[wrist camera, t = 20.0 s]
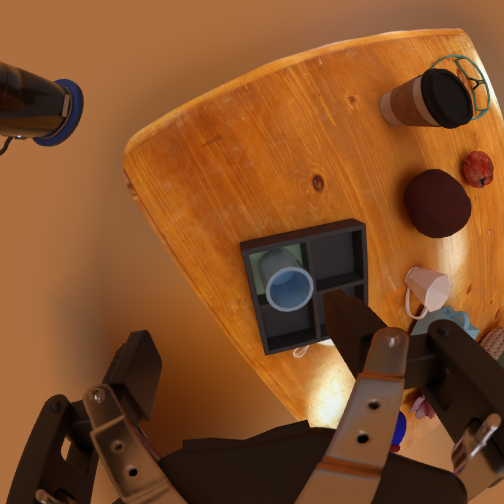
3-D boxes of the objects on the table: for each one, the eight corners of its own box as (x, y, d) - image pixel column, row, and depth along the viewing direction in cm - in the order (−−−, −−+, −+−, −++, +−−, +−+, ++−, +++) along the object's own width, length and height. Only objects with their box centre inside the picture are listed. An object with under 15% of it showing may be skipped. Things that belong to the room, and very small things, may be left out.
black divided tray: (261, 341, 45) (265, 355, 41) (239, 242, 39) (241, 250, 36) (358, 315, 46) (367, 326, 42) (353, 218, 40) (365, 223, 36)
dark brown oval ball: (397, 157, 38) (439, 158, 28) (446, 181, 40) (485, 189, 30) (383, 220, 41) (421, 236, 31) (433, 237, 43) (470, 253, 33)
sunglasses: (483, 112, 36) (497, 111, 31) (447, 127, 38) (462, 127, 33) (459, 55, 31) (472, 50, 27) (418, 63, 34) (432, 57, 29)
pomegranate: (455, 145, 40) (460, 171, 36) (483, 136, 34) (493, 163, 30) (465, 172, 43) (470, 201, 38) (492, 165, 37) (500, 195, 33)
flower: (397, 415, 55) (421, 434, 46) (424, 371, 53) (451, 389, 45) (418, 404, 62) (439, 419, 53) (441, 365, 60) (464, 379, 52)
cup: (430, 264, 45) (457, 279, 37) (410, 309, 47) (433, 328, 39) (408, 255, 43) (435, 270, 36) (387, 304, 46) (410, 325, 38)
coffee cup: (403, 143, 37) (468, 141, 23) (365, 114, 35) (427, 97, 21) (416, 106, 35) (478, 95, 21) (381, 77, 33) (439, 52, 19)
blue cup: (261, 289, 41) (270, 316, 34) (254, 252, 39) (261, 273, 32) (299, 280, 41) (315, 305, 34) (294, 244, 40) (310, 262, 32)
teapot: (393, 354, 50) (423, 390, 38) (424, 291, 46) (464, 321, 34) (439, 353, 54) (466, 381, 41) (466, 300, 49) (499, 324, 37)
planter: (470, 373, 61) (503, 408, 41) (459, 355, 56) (501, 397, 36) (503, 330, 58) (539, 359, 38) (497, 304, 53) (542, 337, 32)
